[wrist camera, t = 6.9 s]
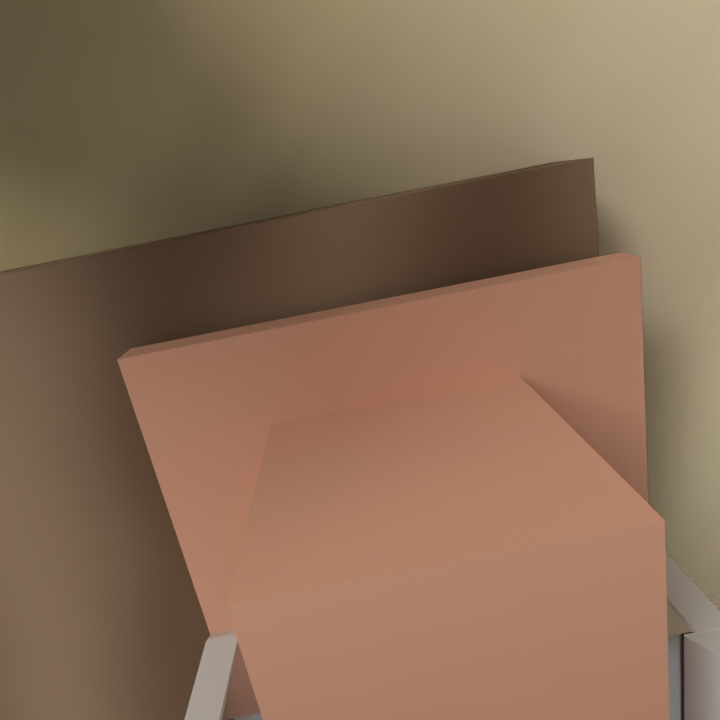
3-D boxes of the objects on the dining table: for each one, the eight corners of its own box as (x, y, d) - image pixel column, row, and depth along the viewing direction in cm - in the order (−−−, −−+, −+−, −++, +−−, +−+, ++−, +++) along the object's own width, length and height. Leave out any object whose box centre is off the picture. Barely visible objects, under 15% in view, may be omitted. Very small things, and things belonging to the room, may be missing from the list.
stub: (620, 252, 9) (903, 315, 4) (640, 715, 12) (821, 1024, 8) (130, 348, 9) (-62, 504, 5) (274, 786, 12) (243, 1133, 8)
